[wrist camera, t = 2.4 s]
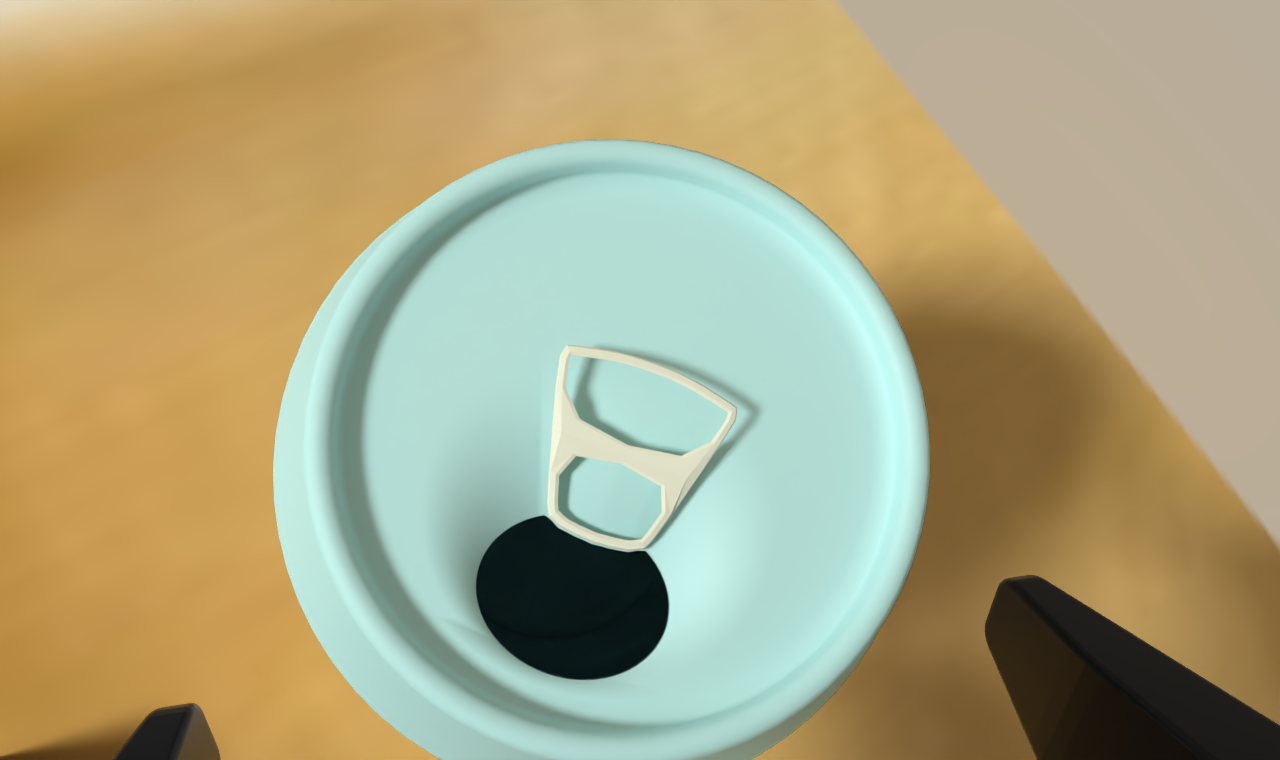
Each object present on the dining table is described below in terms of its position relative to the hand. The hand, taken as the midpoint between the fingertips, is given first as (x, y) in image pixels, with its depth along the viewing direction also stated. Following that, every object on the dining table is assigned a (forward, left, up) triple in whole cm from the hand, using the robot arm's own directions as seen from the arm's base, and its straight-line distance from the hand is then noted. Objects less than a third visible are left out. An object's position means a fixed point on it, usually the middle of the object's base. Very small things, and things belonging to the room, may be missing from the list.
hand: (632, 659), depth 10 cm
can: (+2, -1, -10) cm, 10 cm away
